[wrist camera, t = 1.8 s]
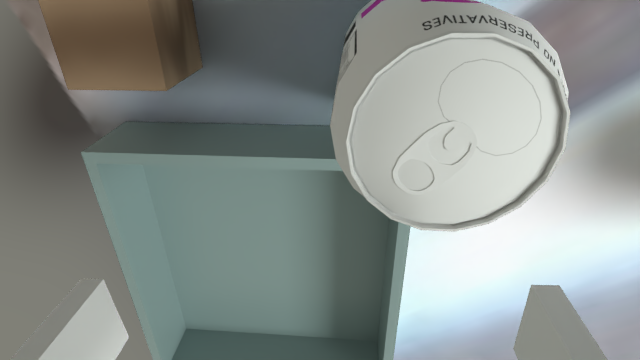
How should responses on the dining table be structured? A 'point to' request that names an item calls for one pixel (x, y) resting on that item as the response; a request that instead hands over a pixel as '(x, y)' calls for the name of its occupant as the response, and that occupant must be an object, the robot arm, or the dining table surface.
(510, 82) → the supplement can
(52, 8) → the walnut cube
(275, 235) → the tote
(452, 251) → the dining table surface
